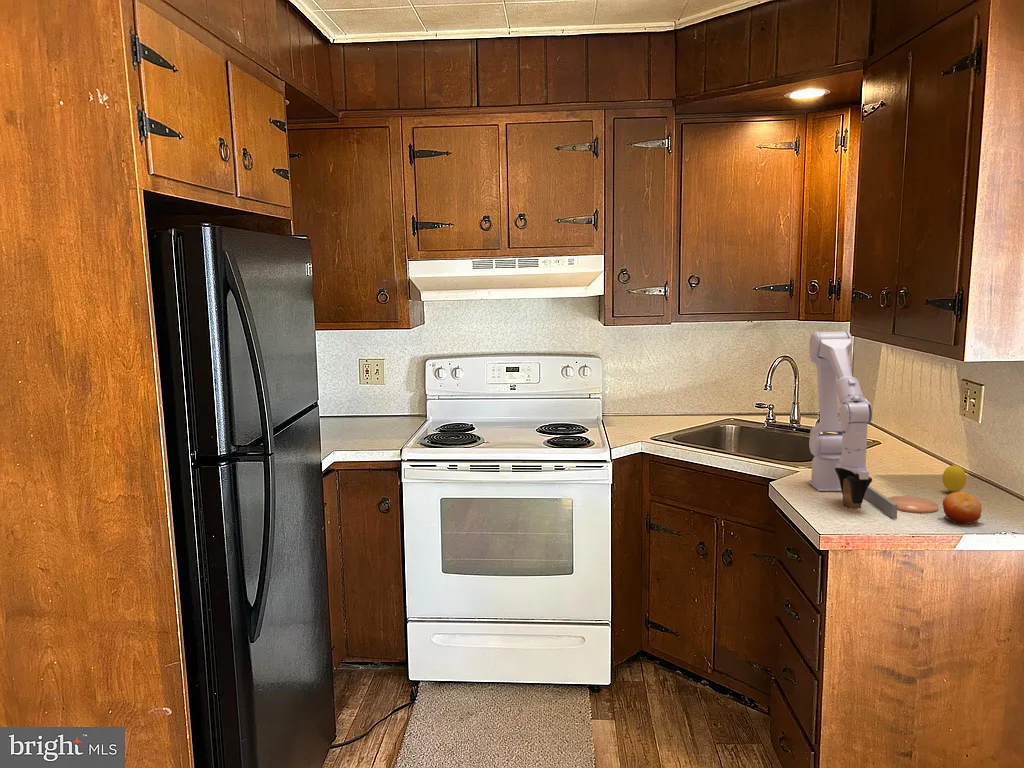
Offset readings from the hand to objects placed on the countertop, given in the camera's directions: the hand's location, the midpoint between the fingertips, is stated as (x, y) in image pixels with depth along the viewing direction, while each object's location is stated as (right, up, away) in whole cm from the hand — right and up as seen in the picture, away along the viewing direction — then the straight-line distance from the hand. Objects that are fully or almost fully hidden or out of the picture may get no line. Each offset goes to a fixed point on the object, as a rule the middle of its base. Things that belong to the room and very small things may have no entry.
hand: (852, 499), depth 191 cm
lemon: (+32, 0, +9) cm, 33 cm away
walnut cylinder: (0, -2, 0) cm, 2 cm away
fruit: (+20, -4, -13) cm, 24 cm away
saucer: (+15, -2, -1) cm, 15 cm away
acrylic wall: (+7, -2, 0) cm, 7 cm away
